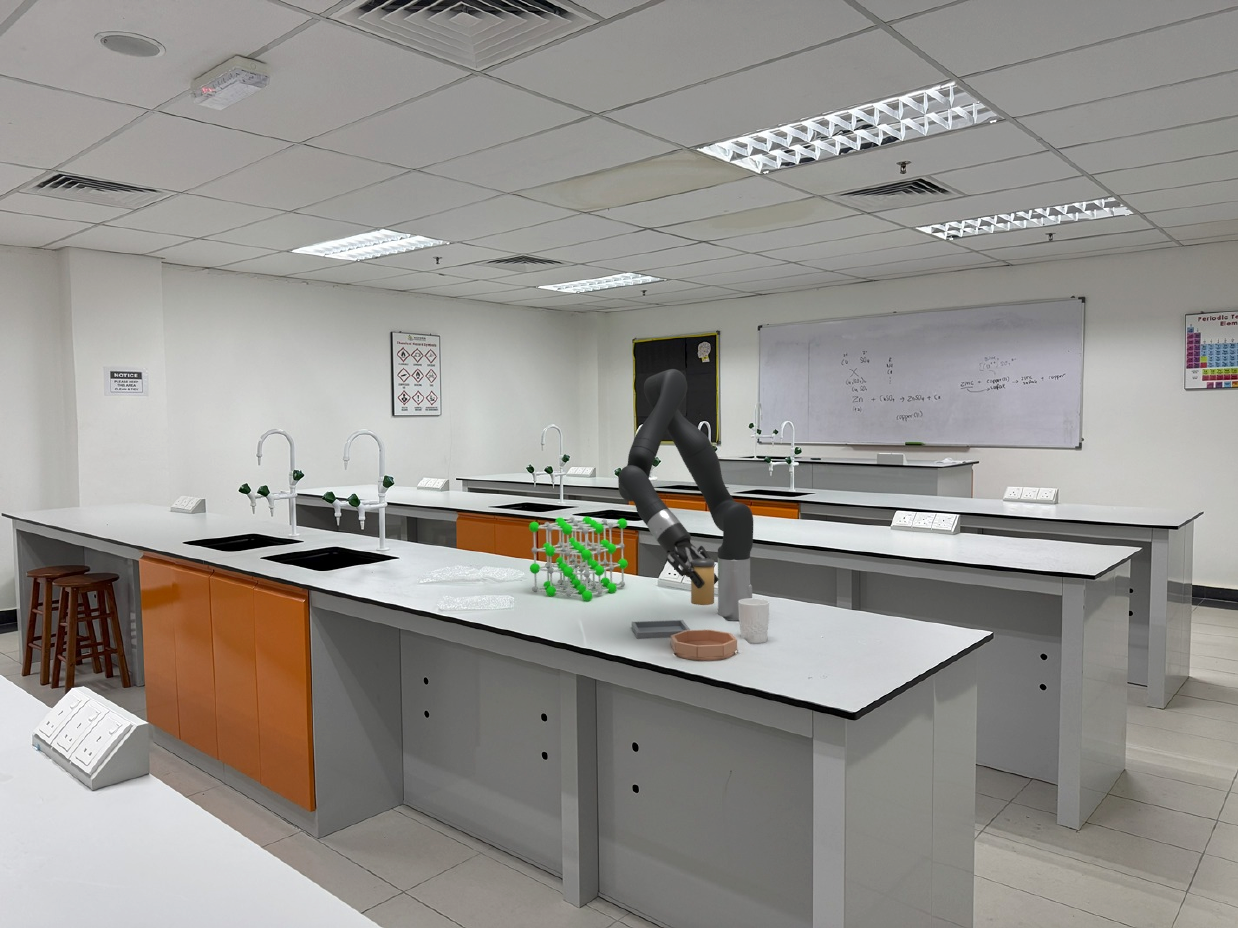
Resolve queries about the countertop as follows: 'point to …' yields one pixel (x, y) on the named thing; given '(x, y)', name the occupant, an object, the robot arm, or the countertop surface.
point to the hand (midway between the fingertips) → (708, 584)
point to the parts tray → (658, 628)
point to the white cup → (754, 619)
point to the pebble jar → (707, 574)
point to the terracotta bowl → (703, 645)
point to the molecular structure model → (584, 553)
